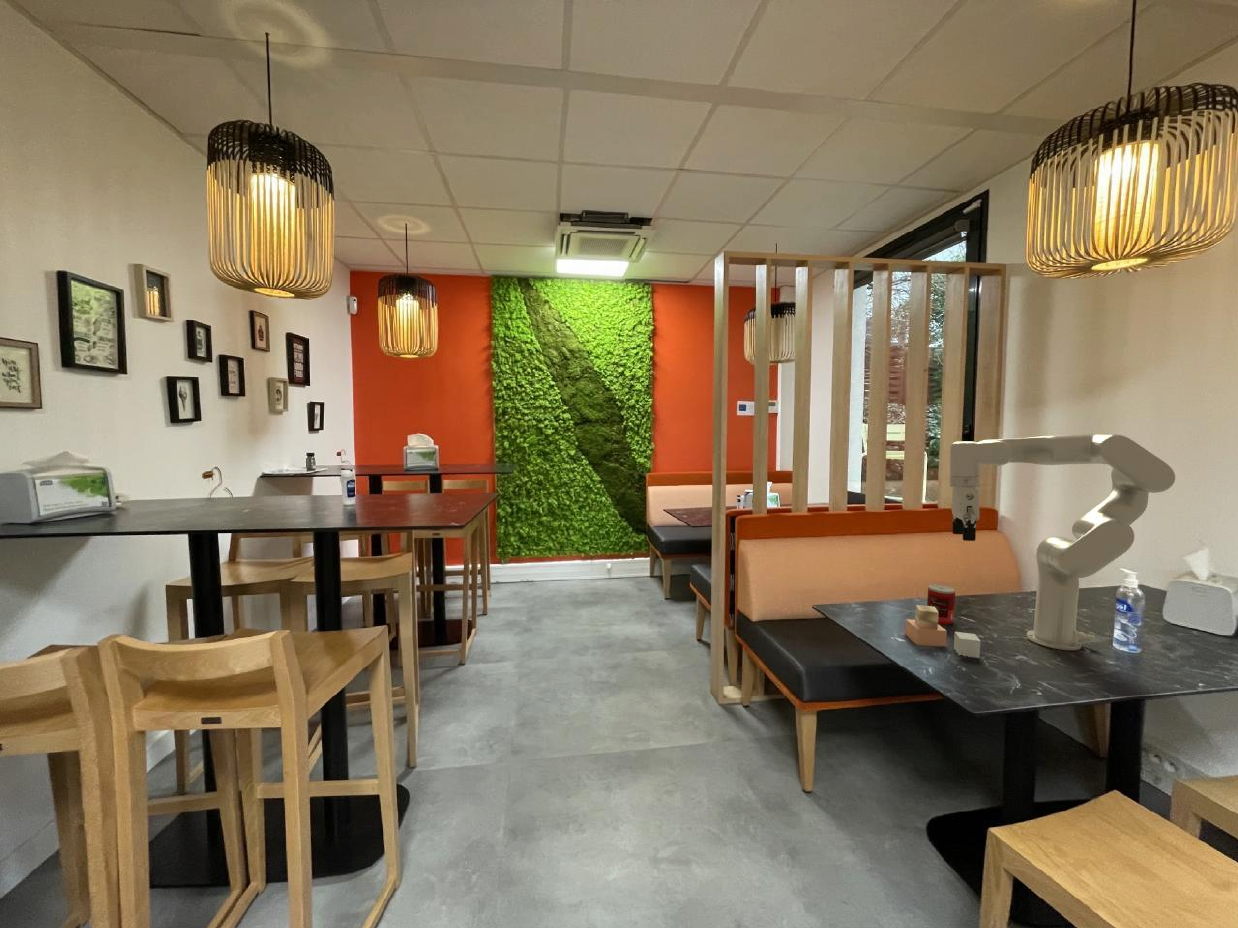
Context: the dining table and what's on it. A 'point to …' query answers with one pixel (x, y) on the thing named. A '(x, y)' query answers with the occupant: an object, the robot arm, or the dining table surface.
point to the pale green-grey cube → (967, 644)
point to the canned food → (942, 602)
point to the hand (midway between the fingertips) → (963, 537)
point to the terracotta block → (925, 634)
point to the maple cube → (926, 616)
